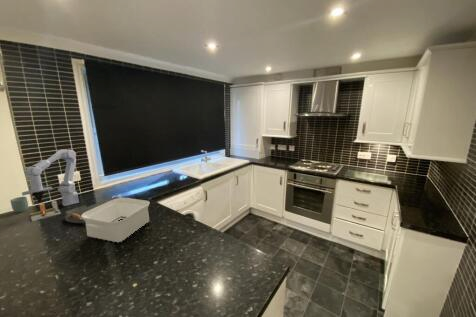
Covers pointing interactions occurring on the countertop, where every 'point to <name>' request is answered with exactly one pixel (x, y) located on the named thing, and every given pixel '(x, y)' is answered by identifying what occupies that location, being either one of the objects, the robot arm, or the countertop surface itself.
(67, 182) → the robot arm
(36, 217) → the bolt plate
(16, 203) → the cup
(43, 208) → the slider leg
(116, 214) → the white sink basin
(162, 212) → the countertop surface
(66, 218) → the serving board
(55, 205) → the rail
